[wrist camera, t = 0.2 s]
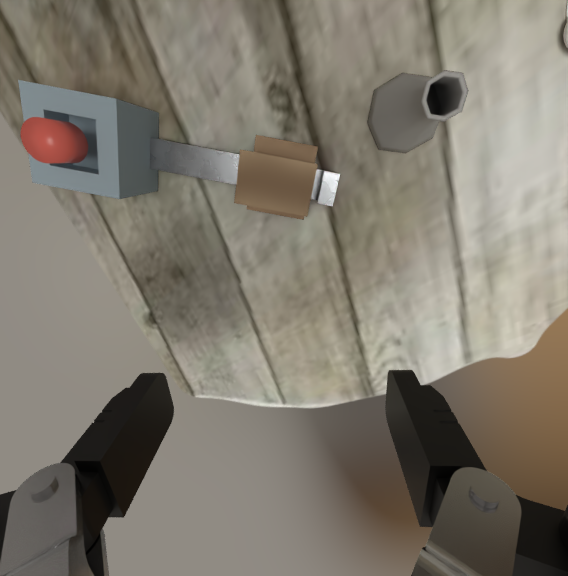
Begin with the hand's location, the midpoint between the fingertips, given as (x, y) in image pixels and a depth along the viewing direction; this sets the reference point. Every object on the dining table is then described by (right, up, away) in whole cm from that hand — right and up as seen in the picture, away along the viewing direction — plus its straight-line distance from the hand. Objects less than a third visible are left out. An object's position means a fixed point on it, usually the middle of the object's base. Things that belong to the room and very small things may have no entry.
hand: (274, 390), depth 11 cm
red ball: (-18, +16, +15) cm, 28 cm away
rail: (-5, +17, +23) cm, 29 cm away
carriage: (0, +16, +23) cm, 28 cm away
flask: (+12, +21, +20) cm, 32 cm away
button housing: (-17, +19, +23) cm, 35 cm away
